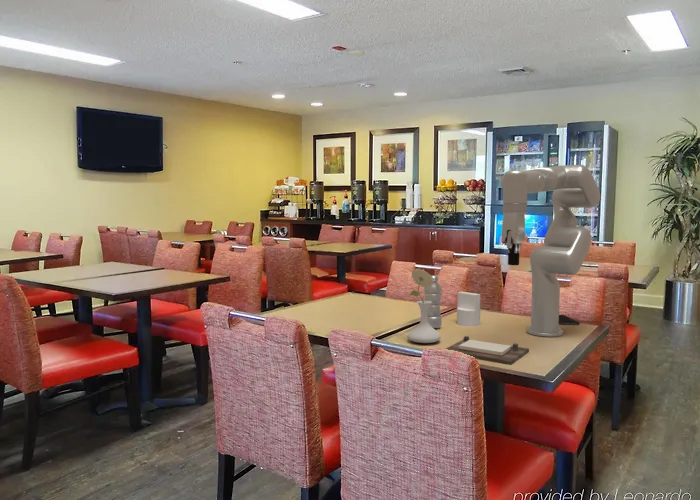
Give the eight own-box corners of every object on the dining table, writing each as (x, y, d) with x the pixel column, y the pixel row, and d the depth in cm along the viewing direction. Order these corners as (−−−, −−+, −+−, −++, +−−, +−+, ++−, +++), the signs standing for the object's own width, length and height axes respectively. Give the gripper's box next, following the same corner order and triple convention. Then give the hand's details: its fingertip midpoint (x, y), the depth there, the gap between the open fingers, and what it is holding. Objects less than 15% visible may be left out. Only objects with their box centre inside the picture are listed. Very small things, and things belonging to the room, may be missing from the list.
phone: (560, 323, 215) (545, 315, 230) (560, 326, 215) (545, 317, 230) (580, 322, 215) (564, 314, 230) (580, 325, 215) (564, 317, 230)
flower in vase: (447, 343, 188) (448, 270, 186) (420, 347, 183) (421, 272, 180) (424, 334, 200) (424, 266, 197) (398, 339, 194) (398, 268, 192)
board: (464, 341, 190) (464, 332, 190) (528, 351, 177) (529, 341, 177) (442, 353, 176) (442, 343, 176) (511, 364, 164) (511, 354, 163)
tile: (458, 345, 176) (458, 349, 176) (501, 352, 168) (501, 356, 168) (470, 339, 184) (470, 342, 184) (512, 345, 176) (512, 349, 176)
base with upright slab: (452, 323, 218) (452, 293, 217) (466, 320, 224) (466, 290, 223) (470, 327, 211) (471, 296, 210) (484, 323, 217) (485, 293, 216)
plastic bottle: (440, 330, 206) (440, 277, 204) (422, 329, 208) (422, 276, 206) (443, 326, 212) (443, 275, 210) (425, 325, 214) (426, 274, 212)
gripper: (511, 208, 189) (509, 262, 190) (495, 209, 177) (494, 266, 178) (533, 208, 184) (531, 263, 186) (518, 209, 172) (517, 268, 174)
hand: (513, 264), depth 182 cm, fingers closed
